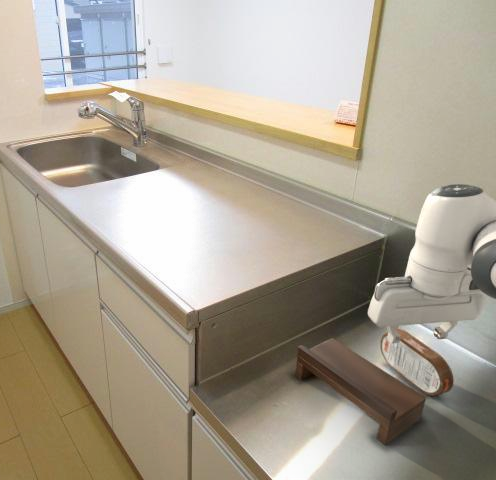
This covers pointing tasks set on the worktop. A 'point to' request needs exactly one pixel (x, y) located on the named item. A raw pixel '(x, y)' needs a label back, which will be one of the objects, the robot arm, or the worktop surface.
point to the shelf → (363, 386)
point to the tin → (418, 364)
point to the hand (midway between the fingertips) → (416, 339)
